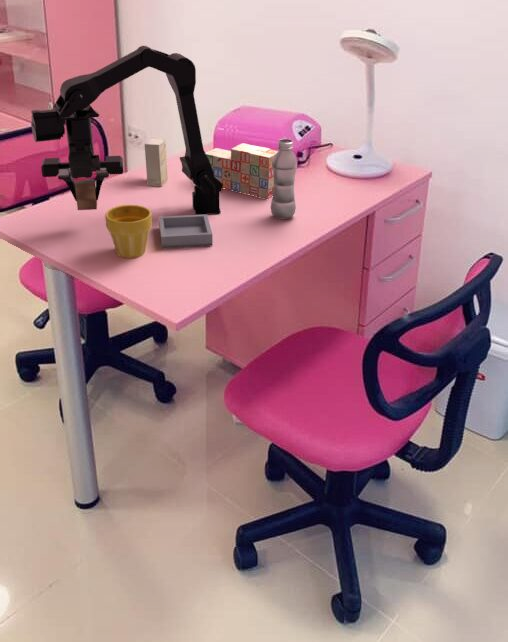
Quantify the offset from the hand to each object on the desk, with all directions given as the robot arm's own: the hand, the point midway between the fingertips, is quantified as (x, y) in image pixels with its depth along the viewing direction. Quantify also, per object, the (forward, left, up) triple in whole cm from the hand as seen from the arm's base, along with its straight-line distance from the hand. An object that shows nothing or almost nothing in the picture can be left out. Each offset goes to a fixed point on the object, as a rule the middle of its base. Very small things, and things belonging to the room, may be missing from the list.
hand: (86, 200), depth 176 cm
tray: (-23, +8, -7) cm, 26 cm away
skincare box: (-18, -30, -8) cm, 36 cm away
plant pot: (-10, +15, -8) cm, 20 cm away
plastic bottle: (-49, -1, -8) cm, 50 cm away
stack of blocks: (-41, -22, -8) cm, 48 cm away
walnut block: (0, 0, -2) cm, 2 cm away
